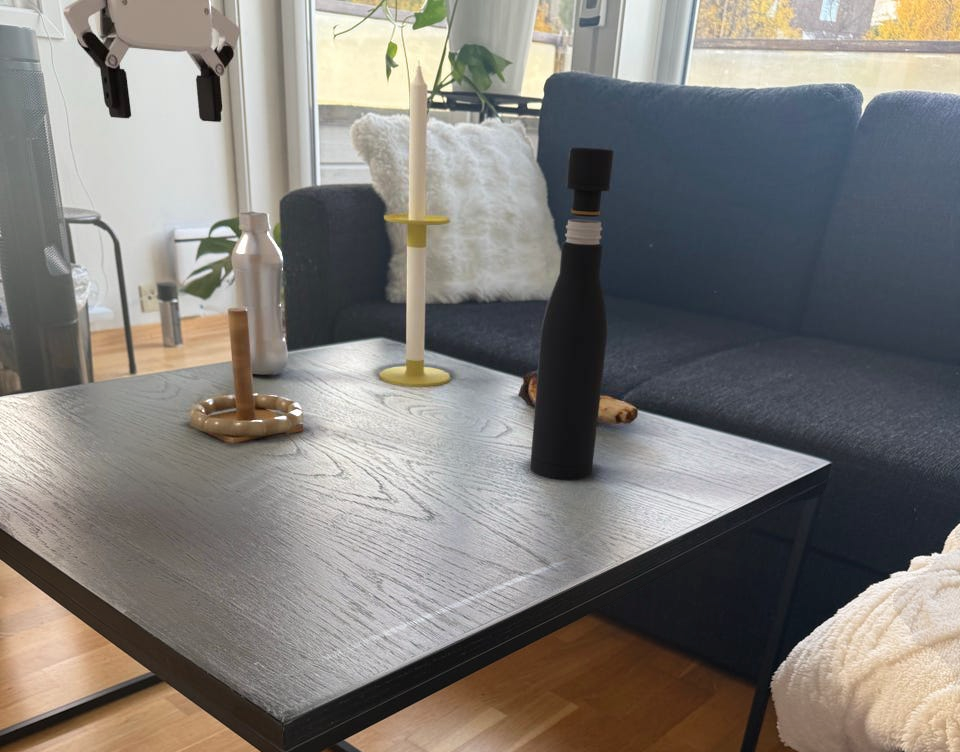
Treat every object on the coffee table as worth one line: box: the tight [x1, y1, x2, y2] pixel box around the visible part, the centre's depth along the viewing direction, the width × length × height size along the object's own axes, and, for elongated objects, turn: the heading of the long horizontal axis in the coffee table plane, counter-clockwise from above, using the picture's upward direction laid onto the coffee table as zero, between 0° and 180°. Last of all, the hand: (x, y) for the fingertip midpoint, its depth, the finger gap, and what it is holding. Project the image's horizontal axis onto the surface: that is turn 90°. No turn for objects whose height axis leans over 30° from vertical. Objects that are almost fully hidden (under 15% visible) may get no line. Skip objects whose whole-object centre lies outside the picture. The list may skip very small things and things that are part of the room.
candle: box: [378, 60, 452, 387], centre depth 119 cm, size 10×10×38 cm
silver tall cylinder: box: [230, 211, 289, 376], centre depth 121 cm, size 6×7×20 cm
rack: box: [189, 307, 304, 444], centre depth 100 cm, size 9×9×13 cm
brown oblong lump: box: [517, 370, 639, 425], centre depth 113 cm, size 9×5×18 cm
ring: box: [189, 393, 305, 436], centre depth 102 cm, size 12×12×2 cm
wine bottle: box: [529, 147, 614, 481], centre depth 88 cm, size 6×6×30 cm
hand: (167, 119), depth 91 cm, fingers open, 9 cm apart
